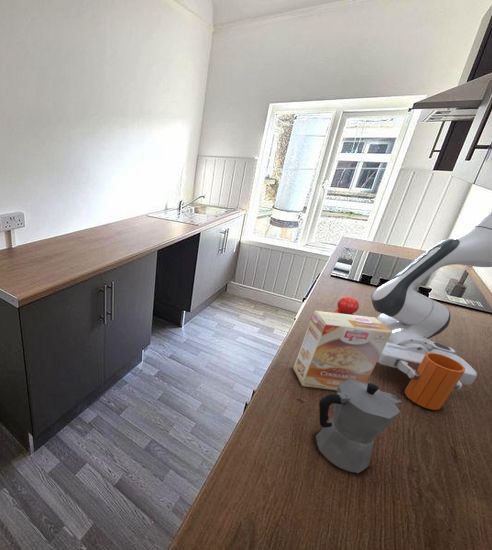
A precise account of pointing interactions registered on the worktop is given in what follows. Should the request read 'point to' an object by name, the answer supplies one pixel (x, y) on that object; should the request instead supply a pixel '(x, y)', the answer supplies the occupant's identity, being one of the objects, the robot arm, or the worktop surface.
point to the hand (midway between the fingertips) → (436, 381)
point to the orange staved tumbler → (434, 380)
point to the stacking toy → (347, 306)
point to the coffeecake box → (339, 349)
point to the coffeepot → (354, 423)
